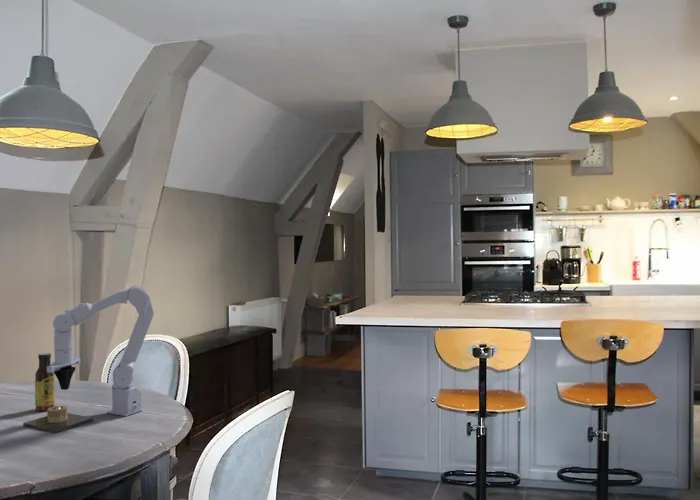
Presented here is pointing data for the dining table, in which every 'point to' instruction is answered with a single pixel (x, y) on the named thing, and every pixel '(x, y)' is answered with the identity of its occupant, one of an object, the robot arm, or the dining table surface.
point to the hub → (57, 427)
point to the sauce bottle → (44, 384)
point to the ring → (57, 414)
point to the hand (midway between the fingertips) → (64, 389)
